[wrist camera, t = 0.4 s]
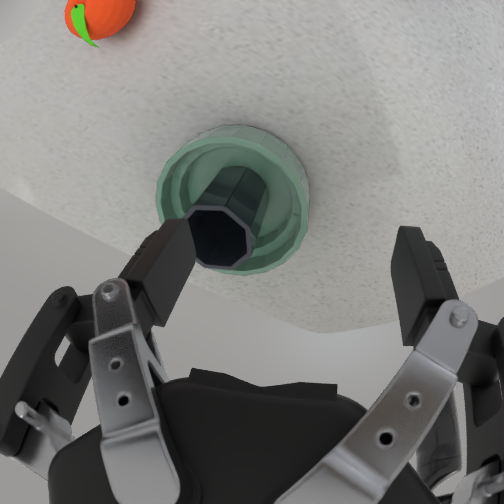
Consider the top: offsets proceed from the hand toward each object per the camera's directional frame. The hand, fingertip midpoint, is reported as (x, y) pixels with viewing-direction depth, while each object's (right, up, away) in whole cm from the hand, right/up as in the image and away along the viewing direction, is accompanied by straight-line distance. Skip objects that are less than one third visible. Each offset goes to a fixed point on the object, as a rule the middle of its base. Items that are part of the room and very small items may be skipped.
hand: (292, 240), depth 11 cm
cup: (-3, +6, +19) cm, 20 cm away
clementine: (-15, +24, +9) cm, 29 cm away
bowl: (-3, +6, +20) cm, 21 cm away
